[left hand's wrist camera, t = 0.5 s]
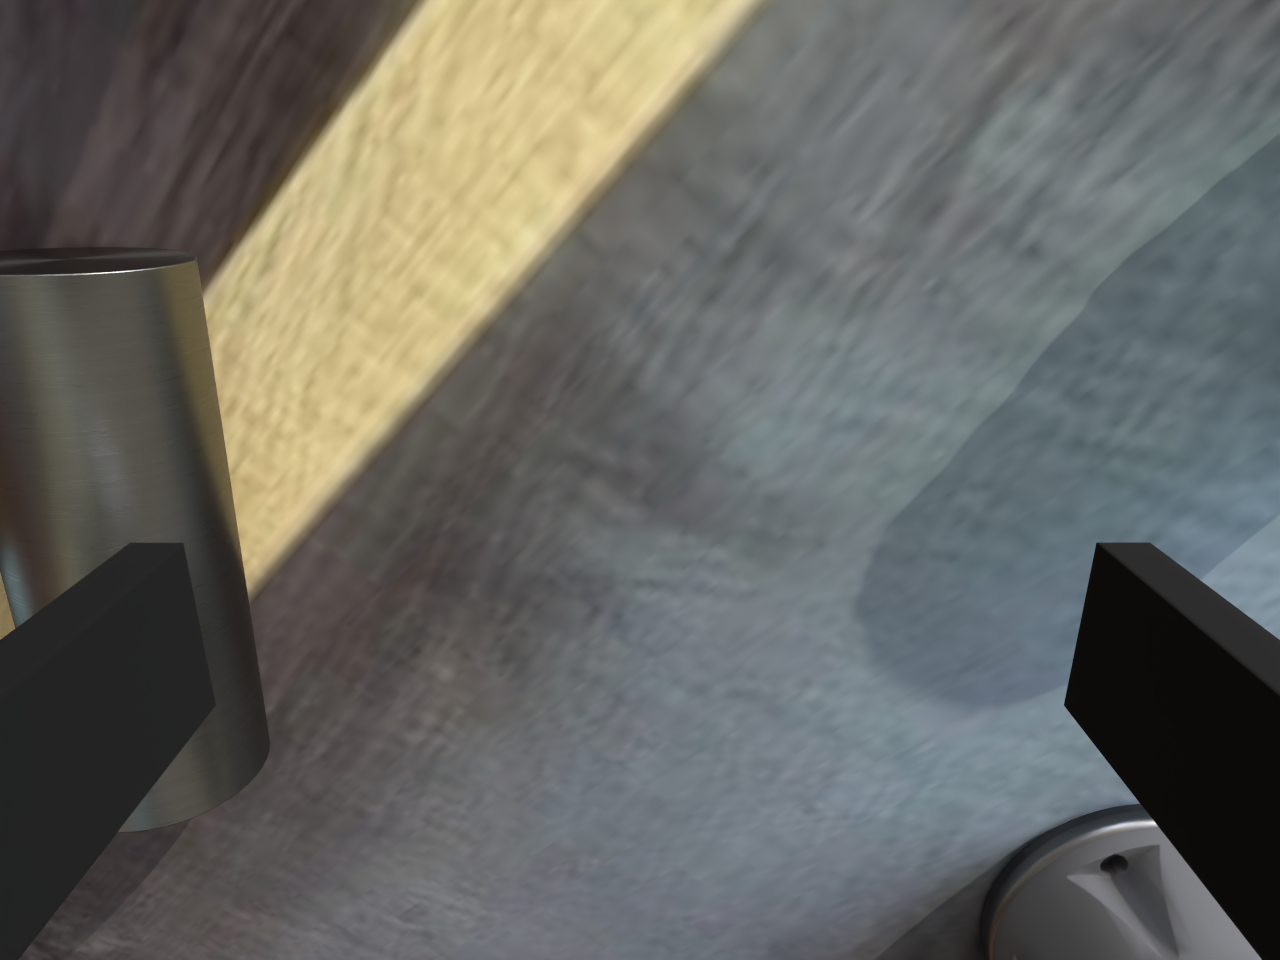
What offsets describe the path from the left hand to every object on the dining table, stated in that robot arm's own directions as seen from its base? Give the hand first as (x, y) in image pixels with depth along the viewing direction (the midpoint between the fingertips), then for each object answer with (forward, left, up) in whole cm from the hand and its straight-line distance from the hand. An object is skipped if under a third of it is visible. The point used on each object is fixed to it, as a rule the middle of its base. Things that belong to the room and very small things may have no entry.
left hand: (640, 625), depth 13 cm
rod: (+9, -21, -25) cm, 33 cm away
